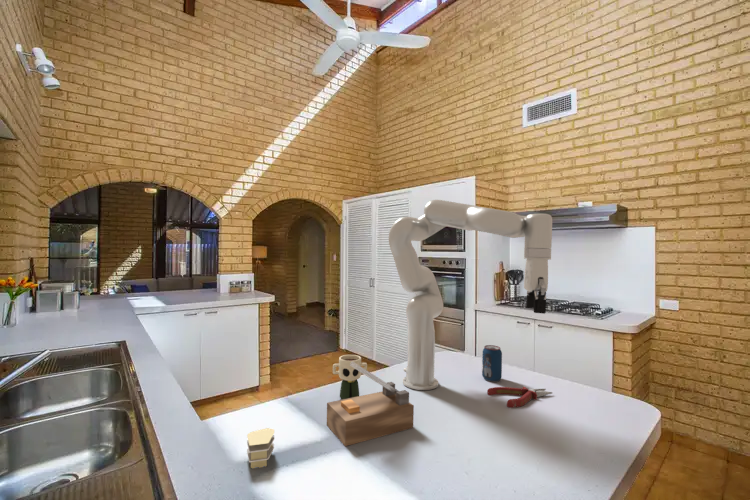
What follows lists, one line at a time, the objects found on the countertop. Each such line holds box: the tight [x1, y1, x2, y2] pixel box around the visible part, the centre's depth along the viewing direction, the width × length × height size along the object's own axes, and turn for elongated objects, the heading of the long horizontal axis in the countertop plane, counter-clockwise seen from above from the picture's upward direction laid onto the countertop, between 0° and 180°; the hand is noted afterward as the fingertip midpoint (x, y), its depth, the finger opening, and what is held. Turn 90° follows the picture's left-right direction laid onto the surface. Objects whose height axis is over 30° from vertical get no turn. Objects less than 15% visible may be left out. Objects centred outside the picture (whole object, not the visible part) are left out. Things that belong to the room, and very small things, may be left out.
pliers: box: [486, 386, 553, 409], centre depth 120 cm, size 12×21×3 cm, turn 109°
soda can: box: [481, 344, 503, 383], centre depth 136 cm, size 7×7×12 cm
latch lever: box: [350, 361, 399, 394], centre depth 98 cm, size 5×17×1 cm
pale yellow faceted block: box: [246, 427, 275, 469], centre depth 81 cm, size 10×9×6 cm
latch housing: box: [326, 381, 415, 447], centre depth 98 cm, size 12×20×9 cm, turn 119°
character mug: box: [332, 354, 368, 400], centre depth 116 cm, size 11×7×13 cm, turn 100°
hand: (535, 310), depth 111 cm, fingers open, 9 cm apart
